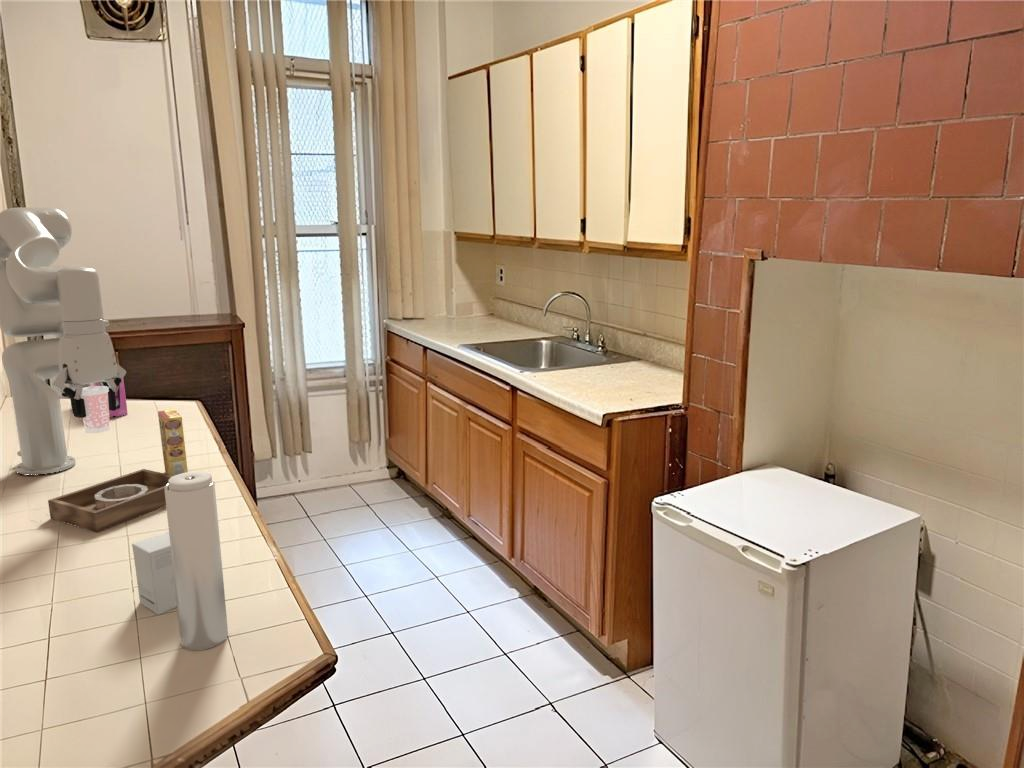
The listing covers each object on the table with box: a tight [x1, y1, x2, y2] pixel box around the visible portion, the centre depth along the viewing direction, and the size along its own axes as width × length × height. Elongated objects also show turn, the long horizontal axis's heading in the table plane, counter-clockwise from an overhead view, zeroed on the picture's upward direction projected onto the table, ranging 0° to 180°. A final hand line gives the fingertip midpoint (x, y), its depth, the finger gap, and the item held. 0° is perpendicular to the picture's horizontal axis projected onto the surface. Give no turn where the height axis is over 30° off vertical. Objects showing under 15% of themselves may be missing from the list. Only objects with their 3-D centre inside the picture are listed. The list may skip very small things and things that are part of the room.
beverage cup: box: [81, 383, 111, 434], centre depth 157 cm, size 6×6×14 cm
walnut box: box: [47, 468, 173, 533], centre depth 159 cm, size 15×22×4 cm
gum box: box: [87, 378, 129, 418], centre depth 239 cm, size 24×8×14 cm, turn 36°
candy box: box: [157, 408, 189, 476], centre depth 178 cm, size 9×4×15 cm, turn 33°
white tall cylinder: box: [164, 471, 229, 651], centre depth 107 cm, size 6×6×25 cm
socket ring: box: [94, 484, 148, 510], centre depth 159 cm, size 10×10×2 cm
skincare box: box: [131, 531, 177, 615], centre depth 121 cm, size 10×6×10 cm, turn 141°
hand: (95, 412), depth 158 cm, fingers closed on beverage cup, 6 cm apart
